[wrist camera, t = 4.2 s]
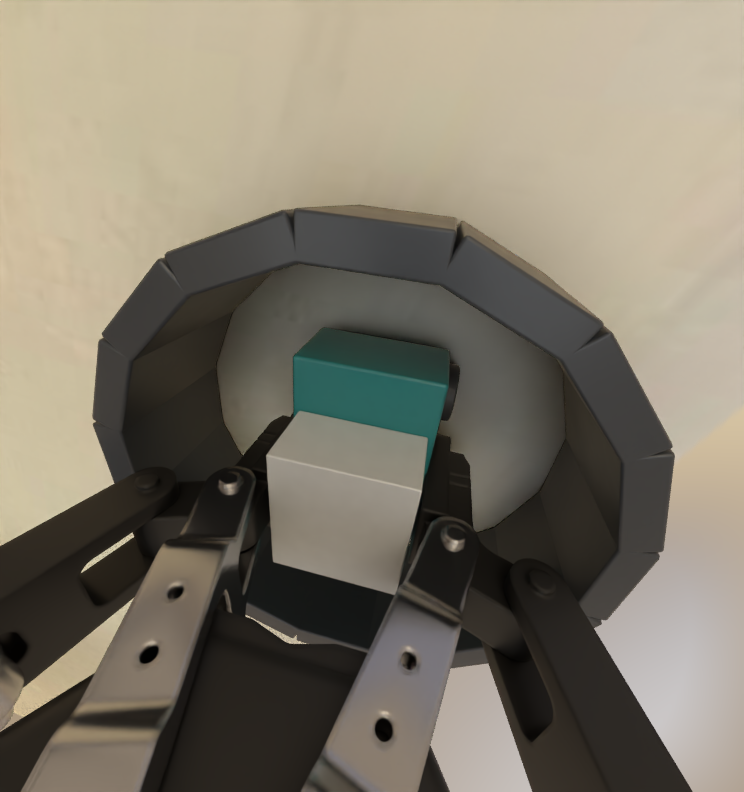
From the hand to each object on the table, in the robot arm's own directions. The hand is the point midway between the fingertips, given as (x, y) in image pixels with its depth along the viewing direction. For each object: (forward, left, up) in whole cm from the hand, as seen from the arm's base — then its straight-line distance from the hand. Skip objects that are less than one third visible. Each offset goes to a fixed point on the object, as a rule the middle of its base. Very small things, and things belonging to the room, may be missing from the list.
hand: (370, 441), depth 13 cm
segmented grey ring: (0, 0, -1) cm, 1 cm away
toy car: (0, 0, -1) cm, 1 cm away
